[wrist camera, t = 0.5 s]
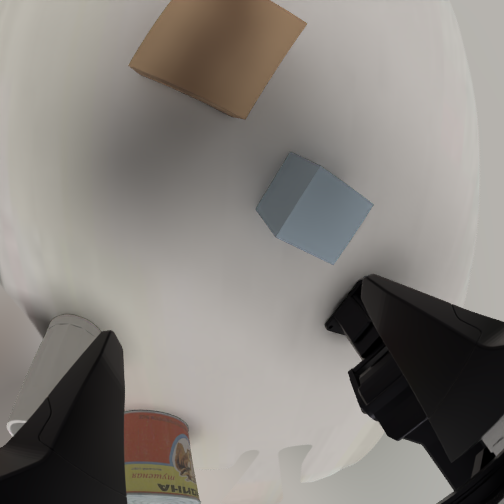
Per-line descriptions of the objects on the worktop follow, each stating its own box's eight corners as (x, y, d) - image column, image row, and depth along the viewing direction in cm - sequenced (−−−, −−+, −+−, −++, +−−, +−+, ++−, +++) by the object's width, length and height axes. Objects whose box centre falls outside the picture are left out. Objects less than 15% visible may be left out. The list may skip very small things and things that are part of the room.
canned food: (200, 435, 36) (214, 505, 26) (138, 447, 35) (143, 512, 25) (164, 402, 30) (172, 492, 20) (94, 416, 30) (91, 494, 19)
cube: (338, 183, 22) (373, 204, 18) (305, 234, 24) (333, 265, 19) (290, 151, 20) (320, 165, 16) (255, 208, 22) (275, 237, 17)
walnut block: (281, 38, 16) (307, 23, 12) (231, 116, 18) (245, 119, 14) (194, -6, 13) (198, -33, 9) (140, 74, 15) (128, 65, 11)
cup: (39, 348, 23) (12, 445, 12) (45, 294, 20) (0, 405, 10) (105, 373, 26) (98, 474, 16) (124, 326, 24) (113, 447, 13)
